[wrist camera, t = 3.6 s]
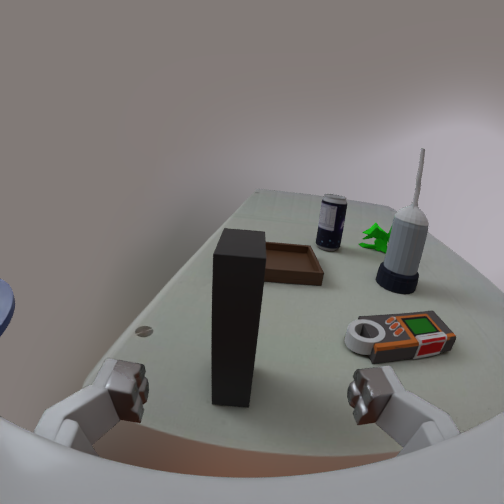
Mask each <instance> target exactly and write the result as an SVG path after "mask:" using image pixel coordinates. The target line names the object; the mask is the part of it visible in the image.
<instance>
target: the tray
mask: <svg viewBox="0 0 504 504" xmlns="http://www.w3.org/2000/svg"><path fill="white" fill-rule="evenodd" d="M266 258H267V259H266V268H265V277H264V281H266V282H279V283H292V284H305V285H320V286H321V285H322V280H323V275H324V272H323V270H322V268H321V266H320V264H319V262H318V260H317V258H316V256H315V254H314V252H313V250H312V248H311V246H308V245H297V244H286V243H275V242H266Z"/></svg>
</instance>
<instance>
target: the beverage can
mask: <svg viewBox="0 0 504 504" xmlns="http://www.w3.org/2000/svg"><path fill="white" fill-rule="evenodd" d="M346 209H347V202H346V198H345V197H343V196H339V195H333V194H325V196H324V198H323V199H322V204H321V211H320V218H319V225H318V232H317V238H316V244H317V245H318V247H319V248H320V249H323V250H326V251H335V250H336V249H338V248H339V247H340V244H341V239H342V233H343V227H344V221H345V215H346Z"/></svg>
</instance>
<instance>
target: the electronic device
mask: <svg viewBox="0 0 504 504" xmlns="http://www.w3.org/2000/svg"><path fill="white" fill-rule="evenodd" d="M455 340H456V335H455V334H454V333H453V332H452V331H451V330H450V329H449V328H448V327H447V325H446V324H445V323H444V322H443V321H442V320H441V319H440V318H439V317H438V316H437V315H436V313H435V312H434V311H425V312H414V313H402V314H389V315H375V316H359V318H358V320H354V321H352V322H351V323H350V324H349V325H348V329H347V333H346V336H345V344H346V345H347V347H348V348H349V349H350V350H352V351H354V352H356V353H358V354H363V355H368V356H369V358H370V360H371V362H372V364H375V363H383V362H390V361H396V360H403V359H409V358H413V360H414V359H419V358H424V357H429V356H434V355H438V354H439V353H441V352H445V351H450V350H451V349H452V346H453V344H454V342H455Z"/></svg>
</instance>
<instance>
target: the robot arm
mask: <svg viewBox="0 0 504 504" xmlns="http://www.w3.org/2000/svg"><path fill="white" fill-rule="evenodd" d="M145 372H146V370H145V366H144V365H143V364H139V363H133V362H127V361H122V360H116V359H111V358H107V359H106V360H105V361H104V363H103V365H102V366H101V368H100V370H99V372H98V374H97V376H96V378H95V380H94V382H93V384H92V386H90V385H88V386H86V387H84V388H83V389H81V390H79V391H78V392H76V393H74V394H72V395H71V396H69V397H67V398H65V399H64V400H62V401H60V402H58V403H57V404H55V405H53V406H51V407H50V408H48V409H46V410H45V411H44V413H43V415H42V417H41V419H40V421H39V423H38V425H37V426H36V428H35V430H34V432H30V431H28V430H26V429H24V428H22V427H20V426H18V425H16V424H14V423H12V422H10V421H8V420H7V419H5V418H2V417H1V416H0V504H504V412H502V413H500V414H498V415H497V416H495V417H493V418H491V419H489V420H487V421H485V422H483V423H481V424H480V425H477V426H475V427H473V428H471V429H469V430H467V431H465V432H463V433H460V431H459V430H458V428H457V426H456V425H455V423H454V421H453V420H452V418H451V416H450V415H449V414H448V413H447V412H445V411H443V410H441V409H440V408H438V407H436V406H434V405H433V404H431V403H429V402H427V401H426V400H424V399H422V398H421V397H419V396H417V395H415V394H414V393H412V392H410V391H406V390H405V388H404V387H403V385H402V383H401V382H400V380H399V378H398V377H397V375H396V373H395V372H394V370H393V368H392V367H391V366H381V367H373V368H365V369H357V370H356V371H355V372H354V375H353V378H354V381H353V382H351V383H350V385H349V387H348V391H347V398H348V402H349V405H350V406H352V407H353V408H354V411H353V415H354V418H355V421H356V423H357V425H362V424H368V423H375V422H376V424H377V425H378V426H379V427H380V428H381V429H382V430H384V431H385V432H386V433H387V434H388V435H389V436H391V437H392V438H393V439H394V440H395V441H396V442H398V443H399V444H400V445H401V446H402V447H404V448H403V449H402V450H401V451H400V452H399V454H398V455H397V457H394V458H391V459H387V460H384V461H379V462H375V463H372V464H367V465H362V466H358V467H353V468H348V469H342V470H336V471H330V472H323V473H316V474H307V475H297V476H284V477H264V478H229V477H210V476H197V475H187V474H179V473H171V472H165V471H159V470H153V469H147V468H141V467H137V466H133V465H128V464H124V463H120V462H116V461H112V460H108V459H104V458H101V457H99V455H98V454H97V453H96V451H95V450H94V448H93V447H92V445H93V444H94V443H95V442H96V441H97V440H99V439H100V438H101V437H102V436H103V435H104V434H105V433H107V432H108V431H109V430H110V429H111V428H112V427H114V426H115V425H116V424H117V423H118V422H119V421H120V420H125V421H131V422H137V423H141V420H142V416H143V413H144V408H143V404H144V403H146V402H147V399H148V393H149V384H148V379H147V378H146V377H145Z"/></svg>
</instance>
